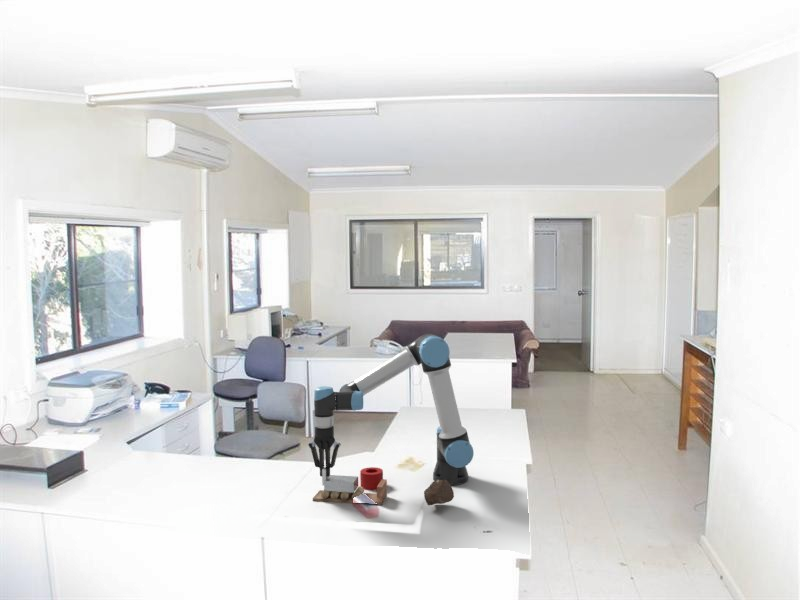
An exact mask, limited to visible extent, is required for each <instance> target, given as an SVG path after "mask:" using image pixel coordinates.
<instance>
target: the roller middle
mask: <svg viewBox="0 0 800 600" xmlns="http://www.w3.org/2000/svg"><path fill="white" fill-rule="evenodd" d="M341 493H342V492H336V491H333V492H332V493H331V498H332V499H337V498H338V496H339V495H340V494H341Z"/></svg>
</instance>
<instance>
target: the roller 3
mask: <svg viewBox="0 0 800 600" xmlns="http://www.w3.org/2000/svg"><path fill="white" fill-rule="evenodd" d="M362 493H365V489H364V488H363V487H362V486H361V485H360V486H358V487H357V489H356V490H355V493H354V494H353V495H352V498H354V497H356V496H359V495H360V494H362Z"/></svg>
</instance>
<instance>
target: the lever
mask: <svg viewBox="0 0 800 600" xmlns="http://www.w3.org/2000/svg"><path fill="white" fill-rule="evenodd" d="M359 471H360V473H359V475H360V486H362V487H363V488H364V491H367V490H368V491H375V490H376V491H377V486H378V484H379V483H380V481H381V480H382V479H384V470H383V469H382V468H380V467H374V466H373V467H364V468H362V469H361V470H359Z"/></svg>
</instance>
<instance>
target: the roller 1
mask: <svg viewBox="0 0 800 600" xmlns="http://www.w3.org/2000/svg"><path fill="white" fill-rule="evenodd" d="M331 493H332V491H324V489H323V491H322V493H321V497H322V498H324V499H326V498H327V497H328V496H329V495H330V494H331Z"/></svg>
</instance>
